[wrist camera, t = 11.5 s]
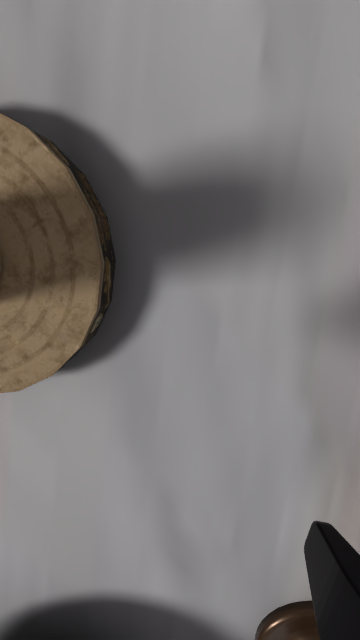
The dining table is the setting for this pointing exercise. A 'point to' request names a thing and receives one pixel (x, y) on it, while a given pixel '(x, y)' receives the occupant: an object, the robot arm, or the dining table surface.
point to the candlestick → (290, 623)
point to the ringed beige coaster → (47, 258)
